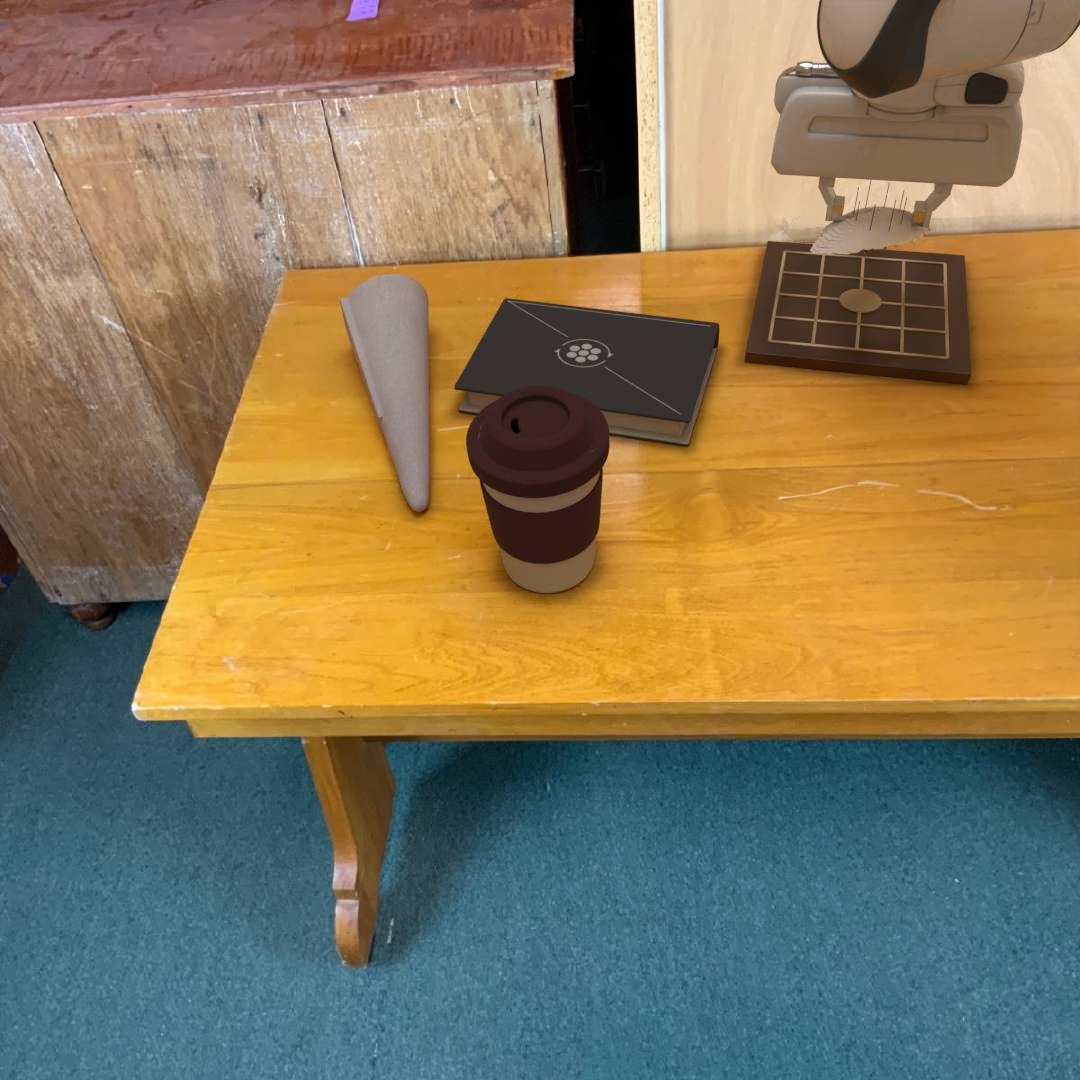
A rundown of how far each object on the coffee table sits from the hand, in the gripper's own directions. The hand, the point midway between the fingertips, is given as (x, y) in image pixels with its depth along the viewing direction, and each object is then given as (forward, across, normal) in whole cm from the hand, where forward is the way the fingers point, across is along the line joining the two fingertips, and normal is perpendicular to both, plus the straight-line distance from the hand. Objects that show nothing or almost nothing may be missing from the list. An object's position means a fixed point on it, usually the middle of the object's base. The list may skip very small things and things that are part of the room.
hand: (876, 221), depth 88 cm
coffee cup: (+10, -22, -38) cm, 45 cm away
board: (+10, 0, 0) cm, 10 cm away
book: (+10, -24, -15) cm, 30 cm away
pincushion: (+3, 0, 0) cm, 3 cm away
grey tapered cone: (+10, -38, -22) cm, 45 cm away
